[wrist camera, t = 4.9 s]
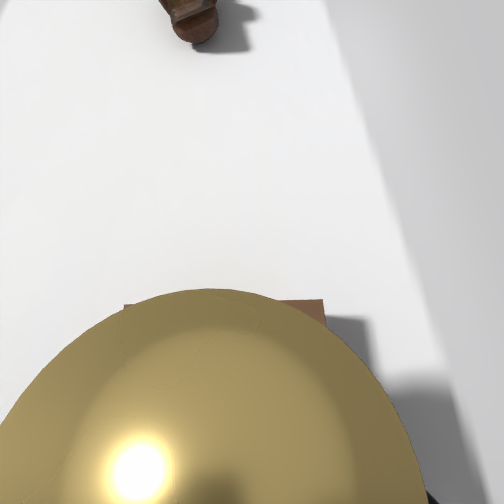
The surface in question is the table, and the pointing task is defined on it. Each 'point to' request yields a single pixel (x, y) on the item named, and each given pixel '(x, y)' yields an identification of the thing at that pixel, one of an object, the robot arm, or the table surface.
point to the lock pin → (207, 413)
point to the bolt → (192, 18)
